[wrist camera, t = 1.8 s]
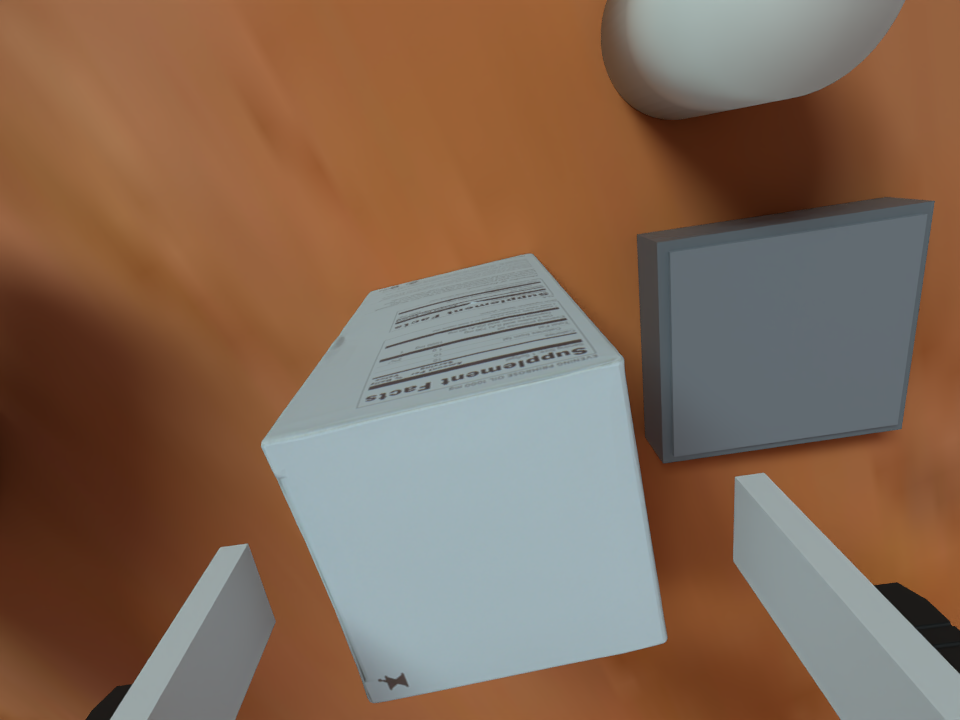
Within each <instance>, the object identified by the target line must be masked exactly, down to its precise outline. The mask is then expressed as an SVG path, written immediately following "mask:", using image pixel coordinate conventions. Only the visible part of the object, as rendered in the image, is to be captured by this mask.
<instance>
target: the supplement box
mask: <svg viewBox="0 0 960 720" xmlns="http://www.w3.org/2000/svg"><path fill="white" fill-rule="evenodd" d="M261 447H262V449H263V452H264V454H265V456H266V458H267V460H268V462H269V464H270V466H271V469H272V471H273V473H274V474H275V476H276V478H277V480H278V483H279V485H280V487H281V490H282V492H283V494H284V496H285V499H286V501H287V503H288V505H289V507H290V509H291V512H292V514H293V516H294V518H295V520H296V523H297V525H298V527H299V529H300V531H301V533H302V535H303V537H304V540H305V542H306V544H307V547H308V549H309V551H310V553H311V556H312V558H313V560H314V563H315V565H316V567H317V570H318V572H319V574H320V577H321V579H322V581H323V583H324V586H325V588H326V590H327V593H328V595H329V597H330V600H331V602H332V604H333V607H334V609H335V612H336V614H337V617H338V619H339V622H340V624H341V627H342V630H343V632H344V635H345V637H346V640H347V642H348V645H349V648H350V650H351V653H352V655H353V658H354V660H355V663H356V665H357V668H358V671H359V674H360V676H361V679H362V682H363V685H364V688H365V692H366V695H367V698H368V699H369V701H370V702H372V703H379V702H384V701H390V700H395V699H400V698H405V697H410V696H415V695H420V694H426V693H431V692H436V691H441V690H445V689H450V688H455V687H460V686H464V685H469V684H474V683H479V682H484V681H488V680H493V679H498V678H503V677H508V676H513V675H517V674H522V673H527V672H532V671H537V670H542V669H547V668H551V667H556V666H561V665H566V664H571V663H576V662H581V661H586V660H591V659H596V658H602V657H607V656H612V655H617V654H622V653H627V652H631V651H635V650H639V649H643V648H647V647H651V646H655V645H659V644H663V643H665V642H666V641H667V638H668V637H667V632H666V626H665V621H664V615H663V609H662V603H661V596H660V590H659V583H658V577H657V571H656V565H655V559H654V553H653V547H652V541H651V535H650V529H649V522H648V516H647V510H646V504H645V497H644V491H643V484H642V478H641V472H640V465H639V459H638V453H637V446H636V440H635V434H634V428H633V422H632V415H631V409H630V402H629V396H628V389H627V383H626V376H625V366H624V358H623V356H622V355H621V354H619V352H618V351H617V349H616V348H615V347H614V346H613V345H612V344H611V343H610V342H609V340H608V339H607V338H606V337H605V336H604V335H603V334H602V333H601V332H600V331H599V329H598V328H597V327H596V326H595V325H594V323H593V322H592V321H591V320H590V319H589V318H588V317H587V316H586V314H585V313H584V312H583V311H582V310H581V309H580V307H579V306H578V305H577V304H576V303H575V302H574V300H573V299H572V298H571V297H570V296H569V295H568V294H567V292H566V291H565V290H564V289H563V288H562V287H561V286H560V285H559V283H558V282H557V281H556V280H555V279H554V277H553V276H552V275H551V274H550V273H549V272H548V271H547V269H546V268H545V267H544V266H543V265H542V264H541V263H540V261H539V260H538V259H537V258H536V257H535V256H534V255H533V254H525V255H520V256H515V257H511V258H507V259H502V260H498V261H494V262H490V263H486V264H482V265H478V266H474V267H470V268H465V269H461V270H457V271H453V272H449V273H445V274H441V275H437V276H433V277H429V278H424V279H420V280H416V281H412V282H408V283H404V284H400V285H396V286H392V287H388V288H384V289H379V290H375V291H372V292H370V293H369V294H368V295H367V297H366V298H365V299H364V301H363V302H362V304H361V305H360V307H359V308H358V310H357V311H356V312H355V314H354V315H353V316H352V318H351V319H350V320H349V322H348V323H347V325H346V326H345V327H344V329H343V330H342V332H341V333H340V335H339V336H338V338H337V339H336V340H335V341H334V342H333V343H332V345H331V346H330V348H329V349H328V351H327V352H326V354H325V355H324V356H323V358H322V359H321V361H320V362H319V363H318V365H317V366H316V368H315V369H314V370H313V372H312V373H311V374H310V376H309V377H308V379H307V380H306V381H305V383H304V384H303V385H302V387H301V388H300V389H299V391H298V392H297V394H296V395H295V396H294V398H293V399H292V400H291V402H290V403H289V404H288V406H287V407H286V408H285V410H284V411H283V413H282V414H281V415H280V417H279V418H278V419H277V421H276V422H275V424H274V425H273V427H272V428H271V430H270V431H269V432H268V434H267V435H266V437H265V438H264V439H263V441H262V443H261Z"/></svg>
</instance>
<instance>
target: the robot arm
mask: <svg viewBox="0 0 960 720" xmlns="http://www.w3.org/2000/svg"><path fill="white" fill-rule="evenodd" d="M733 561H734V563H735V564H736V566H737V567H738V569H739V570H740V572H741V573H742V575H743V576H744V577H745V579H746V580H747V582H748V583H749V585H750V586H751V588H752V589H753V591H754V592H755V594H756V595H757V597H758V598H759V600H760V601H761V603H762V604H763V605H764V607H765V608H766V610H767V611H768V613H769V614H770V616H771V617H772V619H773V620H774V622H775V623H776V625H777V626H778V628H779V629H780V631H781V632H782V634H783V635H784V636H785V638H786V639H787V641H788V642H789V644H790V645H791V647H792V648H793V650H794V651H795V653H796V654H797V656H798V657H799V659H800V660H801V662H802V663H803V664H804V666H805V667H806V669H807V670H808V672H809V673H810V675H811V676H812V678H813V679H814V681H815V682H816V684H817V685H818V687H819V688H820V690H821V691H822V692H823V694H824V695H825V697H826V698H827V700H828V701H829V703H830V704H831V706H832V707H833V709H834V710H835V712H836V713H837V715H838V716H839V718H840V719H841V720H960V630H958V629H957V628H956V627H955V626H952V625H951V624H950V621H949V620H948V619H947V618H946V617H945V616H944V615H943V614H941V613H940V612H939V611H938V610H937V609H936V608H935V607H934V606H933V605H932V604H931V603H930V602H929V601H928V600H926V599H925V598H923V597H921V596H920V595H918V594H916V593H914V592H913V591H911V590H909V589H908V588H906V587H904V586H902V585H901V584H899V583H897V582H896V583H889V584H881V585H873V584H872V583H871V582H870V581H869V580H868V579H867V578H866V577H865V576H864V575H863V574H862V573H861V572H860V571H859V570H858V569H857V568H856V567H855V566H854V565H853V564H852V563H851V562H850V561H849V560H848V559H847V558H846V557H845V556H844V555H843V553H842V552H841V551H840V550H839V549H838V548H837V547H836V546H835V545H834V544H833V543H832V542H831V541H830V540H829V539H828V538H827V537H826V536H825V535H824V534H823V533H822V532H821V531H820V530H819V529H818V528H817V527H816V526H815V525H814V524H813V523H812V522H811V521H810V520H809V519H808V517H807V516H806V515H805V514H804V513H803V512H802V511H801V510H800V509H799V508H798V507H797V506H796V505H795V504H794V503H793V502H792V501H791V500H790V499H789V498H788V497H787V496H786V495H785V494H784V493H783V492H782V491H781V490H780V489H779V488H778V487H777V486H776V485H775V484H774V483H773V482H772V480H771V479H770V478H769V477H768V476H767V475H766V474H765V473H760V474H752V475H745V476H738V477H735V500H734V544H733ZM275 622H276V621H275V618H274V615H273V613H272V610H271V607H270V604H269V601H268V599H267V596H266V593H265V590H264V587H263V584H262V582H261V579H260V576H259V573H258V570H257V567H256V565H255V562H254V559H253V556H252V553H251V551H250V548H249V545H248V544H241V545H234V546H226V547H220V548H219V550H218V552H217V553H216V555H215V556H214V558H213V559H212V561H211V563H210V564H209V566H208V567H207V569H206V570H205V572H204V573H203V575H202V577H201V578H200V580H199V581H198V583H197V584H196V586H195V588H194V589H193V591H192V592H191V594H190V595H189V597H188V598H187V600H186V602H185V603H184V605H183V606H182V608H181V609H180V611H179V613H178V614H177V616H176V617H175V619H174V620H173V622H172V623H171V625H170V627H169V628H168V630H167V631H166V633H165V634H164V636H163V638H162V639H161V641H160V642H159V644H158V645H157V647H156V648H155V650H154V652H153V653H152V655H151V656H150V658H149V659H148V661H147V663H146V664H145V666H144V667H143V669H142V670H141V672H140V673H139V675H138V677H137V678H136V680H135V681H134V683H133V684H131V685H123V686H117V687H116V688H115V689H114V690H113V691H112V692H111V693H110V694H108V695H107V696H106V697H105V698H104V699H103V700H102V701H101V702H100V703H99V704H98V705H97V706H96V707H95V708H94V709H93V710H92V711H91V713H90V714H89V716H88V717H87V719H86V720H235V719H236V716H237V714H238V711H239V709H240V707H241V704H242V702H243V699H244V697H245V695H246V692H247V690H248V687H249V685H250V682H251V680H252V678H253V675H254V673H255V670H256V668H257V666H258V663H259V661H260V658H261V656H262V653H263V651H264V649H265V646H266V644H267V641H268V639H269V637H270V634H271V632H272V629H273V627H274V625H275Z"/></svg>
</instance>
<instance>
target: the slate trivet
mask: <svg viewBox="0 0 960 720" xmlns="http://www.w3.org/2000/svg"><path fill="white" fill-rule="evenodd" d="M934 202H935V201H929V200H916V199H904V198H891V197H884V198H877V199H871V200H864V201H857V202H851V203H844V204H837V205H831V206H824V207H817V208H811V209H804V210H797V211H791V212H784V213H777V214H771V215H764V216H757V217H751V218H744V219H737V220H731V221H724V222H717V223H711V224H704V225H697V226H691V227H684V228H677V229H671V230H664V231H657V232H651V233H644V234H637V249H638V273H639V298H640V323H641V347H642V372H643V396H644V421H645V438H646V439H647V441H648V442H649V444H650V445H651V446H652V448H653V449H654V451H655V452H656V454H657V455H658V457H659V458H660V460H661V461H662V463H670V462H677V461H684V460H691V459H697V458H704V457H711V456H718V455H725V454H732V453H739V452H746V451H753V450H760V449H767V448H773V447H780V446H787V445H794V444H801V443H808V442H815V441H822V440H829V439H836V438H843V437H849V436H856V435H863V434H870V433H877V432H884V431H891V430H898V429H902V422H903V415H904V408H905V401H906V394H907V387H908V380H909V374H910V367H911V360H912V353H913V346H914V339H915V332H916V325H917V318H918V312H919V305H920V298H921V291H922V284H923V277H924V270H925V263H926V257H927V250H928V243H929V236H930V229H931V222H932V215H933V208H934Z"/></svg>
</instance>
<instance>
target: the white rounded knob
mask: <svg viewBox="0 0 960 720" xmlns="http://www.w3.org/2000/svg"><path fill="white" fill-rule="evenodd" d="M904 2H905V0H607V2H606V5H605V9H604V13H603V17H602V25H601V49H602V56H603V60H604V65H605V68H606V70H607V73H608V76H609V78H610V80H611V82H612V84H613V86H614V87H615V89H616V90H617V91H618V93H619V94H620V95H621V97H622V98H623V99H624V100H625V101H626V102H627V103H628V104H630V105H631V106H632V107H634V108H635V109H636V110H638V111H640V112H642V113H644V114H646V115H649V116H651V117H654V118H659V119H664V120H680V119H687V118H692V117H697V116H702V115H708V114H713V113H718V112H723V111H728V110H733V109H738V108H744V107H749V106H754V105H759V104H764V103H769V102H774V101H780V100H785V99H790V98H794V97H799V96H803V95H807V94H809V93H812V92H815V91H818V90H820V89H822V88H824V87H826V86H828V85H830V84H832V83H834V82H835V81H837V80H838V79H840V78H841V77H843V76H844V75H846V74H847V73H849V72H850V71H851V70H852V69H854V68H855V67H856V66H857V65H858V64H860V63H861V62H862V61H863V60H864V59H865V58H866V57H867V56H868V55H869V54H870V53H871V52H872V51H873V49H874V48H875V47H876V46H877V45H878V43H879V42H880V41H881V40H882V38H883V37H884V36H885V34H886V33H887V32H888V30H889V28H890V27H891V25H892V24H893V22H894V21H895V19H896V17H897V15H898V14H899V12H900V10H901V8H902V6H903V4H904Z"/></svg>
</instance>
